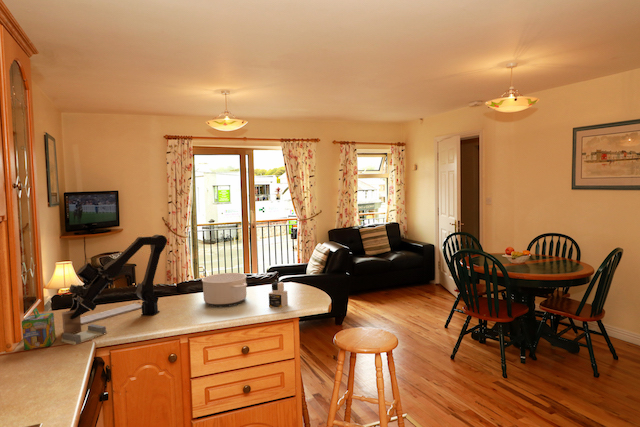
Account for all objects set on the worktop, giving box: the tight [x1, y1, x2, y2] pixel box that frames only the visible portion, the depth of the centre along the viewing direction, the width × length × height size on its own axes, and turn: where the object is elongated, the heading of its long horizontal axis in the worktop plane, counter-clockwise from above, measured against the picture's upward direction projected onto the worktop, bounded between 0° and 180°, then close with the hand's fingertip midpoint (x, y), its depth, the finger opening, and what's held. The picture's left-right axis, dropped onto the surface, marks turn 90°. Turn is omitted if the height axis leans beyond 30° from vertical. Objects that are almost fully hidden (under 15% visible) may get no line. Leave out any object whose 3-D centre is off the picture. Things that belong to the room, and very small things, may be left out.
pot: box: [201, 272, 248, 308], centre depth 216 cm, size 33×23×14 cm
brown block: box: [61, 310, 82, 334], centre depth 178 cm, size 6×4×9 cm
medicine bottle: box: [268, 281, 289, 309], centre depth 206 cm, size 7×7×12 cm
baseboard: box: [80, 301, 142, 326], centre depth 203 cm, size 31×3×12 cm
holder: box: [60, 323, 108, 345], centre depth 171 cm, size 14×9×3 cm, turn 153°
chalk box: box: [21, 307, 57, 351], centre depth 164 cm, size 9×9×15 cm
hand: (69, 317), depth 177 cm, fingers open, 6 cm apart
